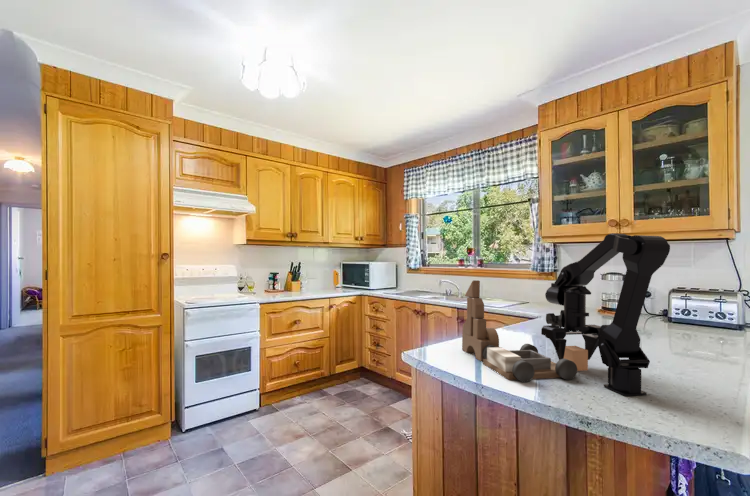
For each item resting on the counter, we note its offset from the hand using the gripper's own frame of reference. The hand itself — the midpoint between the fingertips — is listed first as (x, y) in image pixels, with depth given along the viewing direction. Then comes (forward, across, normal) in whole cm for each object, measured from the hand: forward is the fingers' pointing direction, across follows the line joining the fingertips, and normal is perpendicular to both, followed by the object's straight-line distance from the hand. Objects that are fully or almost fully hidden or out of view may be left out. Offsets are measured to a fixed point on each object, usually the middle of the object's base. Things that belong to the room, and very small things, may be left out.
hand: (574, 360), depth 105 cm
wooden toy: (+3, +22, -17) cm, 28 cm away
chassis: (+2, +16, 0) cm, 16 cm away
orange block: (+2, 0, 0) cm, 2 cm away
